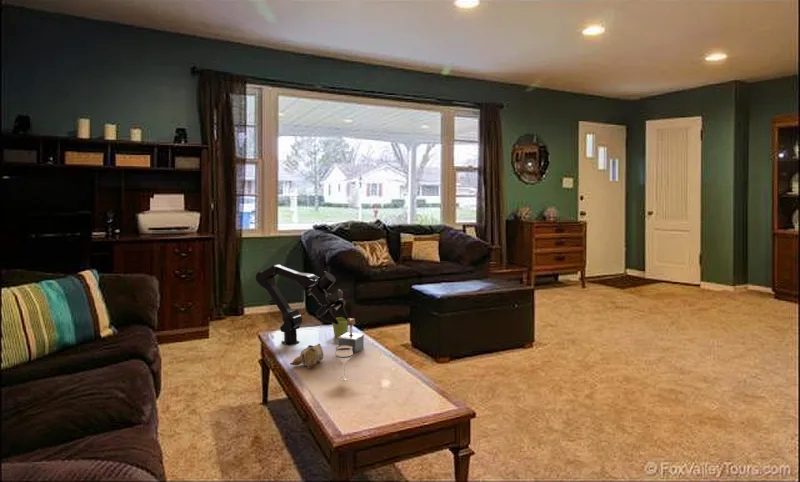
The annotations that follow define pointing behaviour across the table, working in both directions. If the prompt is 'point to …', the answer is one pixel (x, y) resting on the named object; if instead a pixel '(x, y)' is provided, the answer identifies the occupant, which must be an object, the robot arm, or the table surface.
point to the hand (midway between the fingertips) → (342, 321)
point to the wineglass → (344, 357)
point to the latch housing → (352, 341)
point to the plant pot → (340, 327)
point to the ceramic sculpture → (309, 356)
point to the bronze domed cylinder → (350, 322)
